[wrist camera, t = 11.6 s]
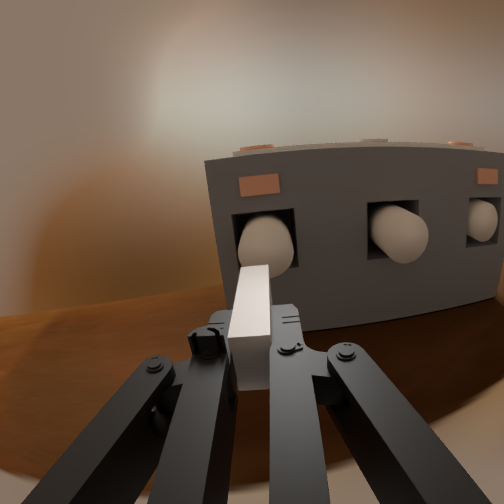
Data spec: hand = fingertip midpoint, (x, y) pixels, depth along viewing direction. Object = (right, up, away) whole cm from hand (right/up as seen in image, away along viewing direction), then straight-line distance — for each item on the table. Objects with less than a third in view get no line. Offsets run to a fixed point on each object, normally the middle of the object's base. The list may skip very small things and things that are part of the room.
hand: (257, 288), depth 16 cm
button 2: (+23, +4, +9) cm, 25 cm away
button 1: (+1, +1, +8) cm, 8 cm away
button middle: (+12, +2, +7) cm, 14 cm away
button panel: (+13, -3, +14) cm, 19 cm away
